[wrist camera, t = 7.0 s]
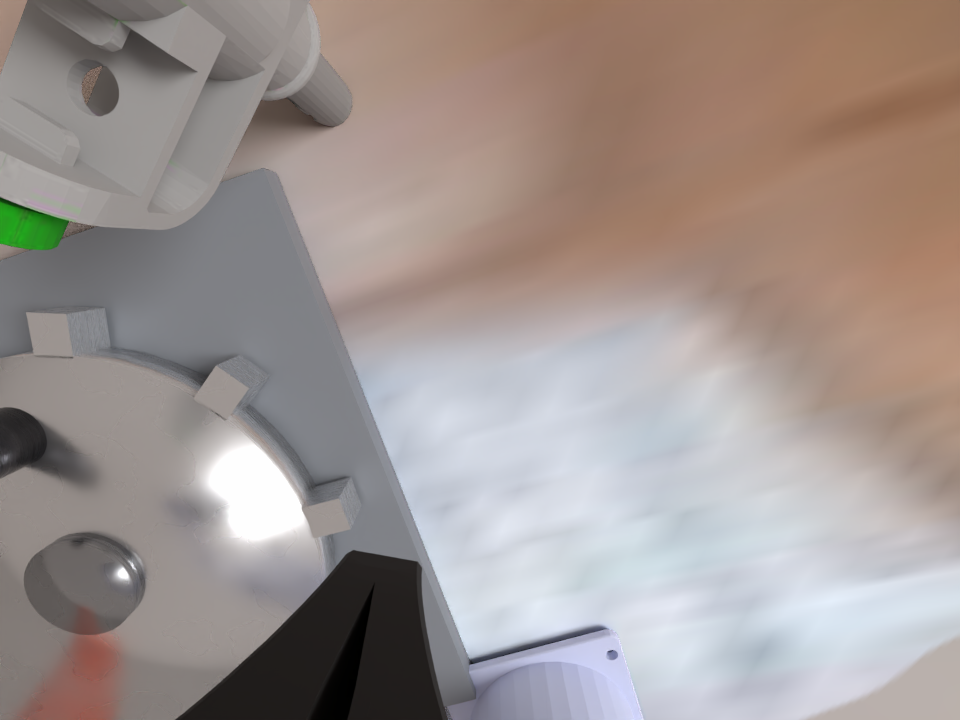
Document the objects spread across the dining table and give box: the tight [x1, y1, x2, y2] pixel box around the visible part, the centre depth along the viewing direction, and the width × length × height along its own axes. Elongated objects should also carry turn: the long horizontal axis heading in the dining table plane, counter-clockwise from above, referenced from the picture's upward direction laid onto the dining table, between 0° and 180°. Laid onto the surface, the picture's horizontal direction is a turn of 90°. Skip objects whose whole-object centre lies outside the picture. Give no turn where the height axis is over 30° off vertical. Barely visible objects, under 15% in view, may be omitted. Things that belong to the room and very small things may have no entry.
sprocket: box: [0, 306, 362, 720], centre depth 16 cm, size 18×19×4 cm
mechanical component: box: [0, 0, 352, 250], centre depth 10 cm, size 3×10×10 cm, turn 147°
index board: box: [0, 168, 476, 707], centre depth 18 cm, size 22×24×2 cm
